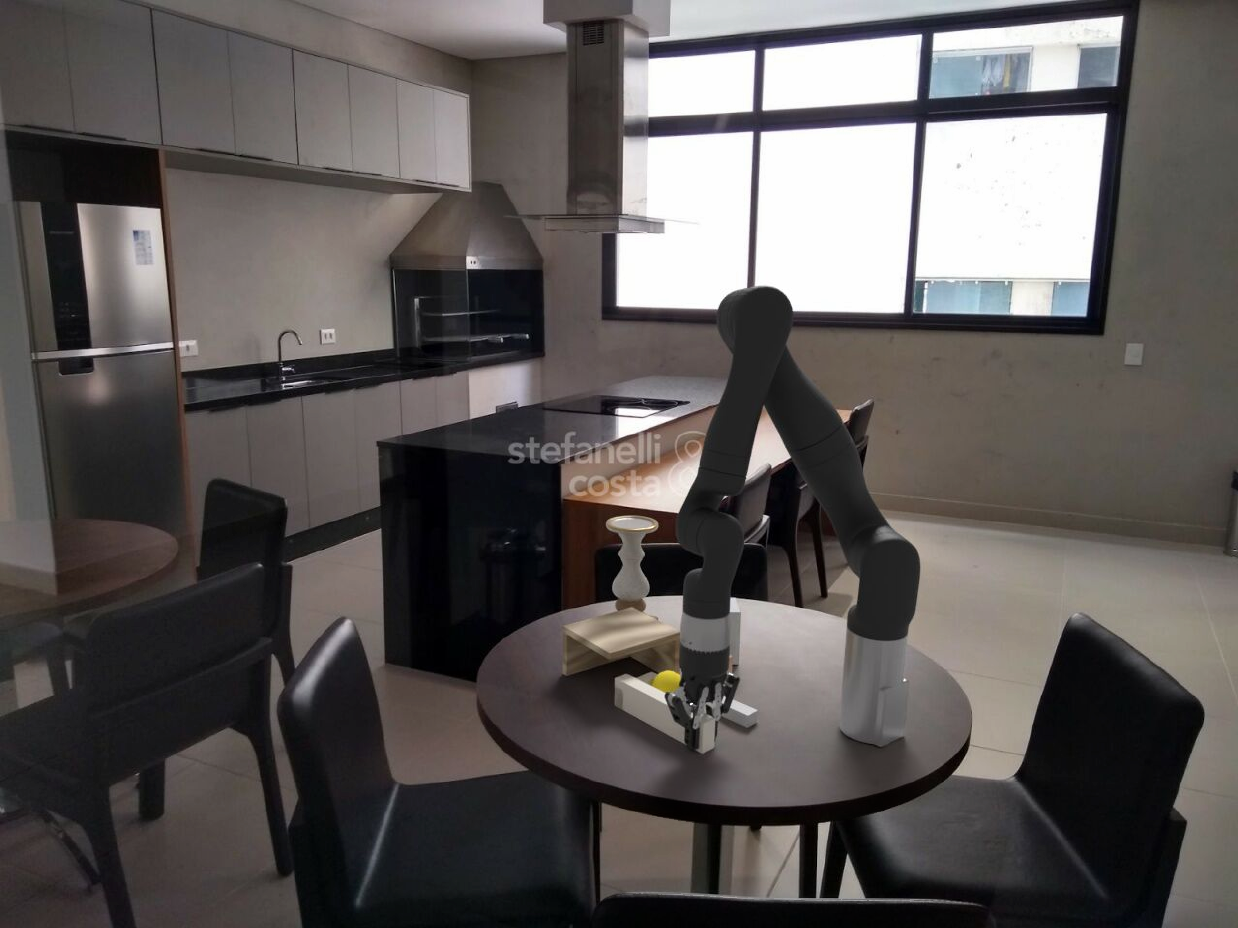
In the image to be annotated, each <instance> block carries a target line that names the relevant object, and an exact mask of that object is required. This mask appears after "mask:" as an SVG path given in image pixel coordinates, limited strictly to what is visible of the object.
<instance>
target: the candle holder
mask: <svg viewBox="0 0 1238 928" xmlns="http://www.w3.org/2000/svg"><path fill="white" fill-rule="evenodd" d="M605 526H606V528H607V530H609V531H610V532H613V533H617V534H618V536H619V538H621V540H622V546H621V548H620V550H619V551H618V553H617V554H618V556H619V557H620V560H621V562H622V566H621V569H620V571H619V572H618V574H617V576H616V577H615V578H614V580H613V582H612V593H613V594H614V595H615V596H616V597H617V598H618V599H617V600H616V601H615V603H614V606H615V607H614V608H615V610H616V611H620V610H624V609H628V608H631V607H632V608H634V609H636V610H638V611H640V612H642V613H644V614H646V615H648V616H650V617H652V618H654V619H656V620H658V621H659V617H658V616H657V615H652V614H647V613H646V612H644V611H645V610H646V608H647V603H646V601H645V600H644V599H645V597H647V595H648V594H649V592H650V584H649V580H648V578H647V577H646V576H645V574H644V573H643V571H642V568H641V562H642V560H643V558H644V557H645V554H646V553H645V552H644V550H643V548H642V546H641V544H642V540H643V538H644V537H645V536H646V534H650V533H653V532H655V531H657V530H658V528H659V522H658V521H657V520H656V519H654V518H651V517H647V516H641V515H620V516H615V517H611V518H609V519H608V520H607V521H606V522H605ZM616 611H614V612H616Z"/></svg>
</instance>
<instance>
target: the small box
mask: <svg viewBox="0 0 1238 928" xmlns="http://www.w3.org/2000/svg"><path fill="white" fill-rule="evenodd" d="M741 618H742V612H741V608H740V607H739V602H738V600H737V597H731V599H730V621H731V636H730V655H731V656H733V662H732V666H733V665H734V666H738V665H739V664H740V647H741V646H740V644H741V622H742V621H741V620H742V619H741Z"/></svg>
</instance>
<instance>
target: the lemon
mask: <svg viewBox="0 0 1238 928" xmlns="http://www.w3.org/2000/svg"><path fill="white" fill-rule="evenodd" d="M657 674H658V675H657V676H656V677H655V678H654V680H653V682H652V685H651V686H652V687H654V688H656V689H658V690H660V691H662V692H664V693H666V692H668V691H669V692H671V693H673V692H674V691H675V690H676V689H677V688H679V682H680V680H681V674H680V675H679V674H677V673H675V672H674V671H668V670H667V671H663V672H660V673H657Z"/></svg>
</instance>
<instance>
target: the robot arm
mask: <svg viewBox="0 0 1238 928" xmlns="http://www.w3.org/2000/svg"><path fill="white" fill-rule="evenodd" d="M793 324H794V308H793V305H792V303H791V301H790V299H789V297H788V296H787V295H786V294H785V292H783V291H782V290H781V289H779V288H777V287H775V286H772V285H755V286H751V287H750V286H749V287H744V288H740V289H737V290H733V291H732V292H729V293H728V294H726V296H725V297H724V298H723V299H722V300H721V301H720V302H719V304H718V308H717V311H716V327H717V330H718V334H719V336H720V338H721V339H722V341H723V342H724V344H725V345H726V347H727V349H728V350H729V351H730V353H731V354H732V361H731V367H730V371H729V374H728V377H727V378H728V379H727V382H726V385H725V387H724V391H723V393H722V394H721V398H720V401H719V402H718V404H717V406H716V408H715V411H714V412H713V416H712V417H711V420H710V423H709V425H708V428H707V430H706V434H705V438H704V441H703V446H702V449H701V455H700V459H699V463H698V464H699V465H698V470H697V474H696V476H695V479H694V481H693V483H692V485H691V486H690V487H689V490H688V493H687V494H686V496H685V498H684V501H683V503H682V504H681V506H680V508H679V511H678V513H677V515H676V520H675V537H676V541H677V543H678V544H679V546H680V547H682V549H684V550H686V551H688V552H689V553H692V554H695V555H698V556H699V557H702V558H703V565H702V568H695V569H692V570H690V571H688V573H686V575H685V577H684V578H683V587H682V589H683V591H682V592H683V593H682V611H681V618H680V625H679V628H680V629H679V631H680V649H679V666H680V674H681V675H680V677H681V680H680V682H679V688H677V689H676V690H675V691H674V692H673V693H671V692H669V691H668V692H666V694H665V700H666V702H667V705H668V707H669V709H670V712H671V714H672V717H673V719H674V721H675V722H676V723H678V724H679V725H681V726H682V727H684V728H685V733H684V742H685V744H686V745H685V744H684V745H685V746H687V747H688V749H689V748H690V749H691V750H693V751H696V749H698V748H699V729H700V728H699V723H700V717H701V714H703V713H706V714H708V715H710V716H712V717H714V718H715V737H714V743H716V741H717V739H716V738H717V736H718V726H719V721H720V719H721V717H722V716H721V715H722V714H723V713H724V714H727V713H728V712H729V709H730V706H731V704H732V701H733V700H734V698H735V695H736V693H737V690H738V686H739V684H740V682H741V678H740V677H739V676H738V675H736V674H734V673H733V672H732V673H730V672H728V669H729V657H730V636H731V621H730V599H731V598H732V595H731V593H732V590H731V589H732V585H733V581H734V579H735V576H736V574H737V570H738V566H739V564H740V561H741V559H742V555H743V551H744V547H745V532H744V529H743V526H742V524H741V523H740V521H739V520H738V519H737V518H736V517H734V516H733V515H731V514H727V513H725V512H722V511H719V507H720V506H721V504H722V502H723V500H724V499H725V497H735V496H738V495H740V494H741V493H742V492H743V490H744V488H745V484H746V481H747V476H748V472H749V466H750V462H751V457H752V452H753V447H754V445H755V444H754V443H755V439H756V435H757V431H758V427H759V424H760V419H761V415H762V412H763V409H765V410H766V412H767V414H768V417H769V418H770V421H771V423H772V424H773V426H774V428H775V430H776V431H777V433H778V435H779V437H780V439H781V441H782V443H783V445H784V447H785V449H786V451H787V453H788V455H789V457H790V459H791V461H792V462H793V464H794V465H795V467H796V468H797V471H798V473H799V474H800V475H801V478H802V479H803V481H804V482H805V484H806V485H807V487H808V488H809V490H810V491H811V493H812V495H813V496H814V497H815V498H816V501H818V503H819V504H820V506H821V507H822V509H823V510H824V512H825V513H826V515H827V517H828V519H829V521H830V523H831V525H832V528H833V530H834V533H835V535H836V538H837V540H838V542H839V546H840V547H841V550H842V553H843V555H844V558H845V560H846V563H847V564H848V567H849V569H850V570H851V571H852V573H853V574H854V575H855V576H856V577H857V578H858V579H859V580H858V588H857V598H856V599H857V600H856V604H854V605H852V606H851V607H850V608H849V609H848V611H847V615H846V617H847V618H846V629H845V630H846V632H845V633H846V634H845V645H844V646H845V647H844V659H843V669H842V670H843V672H842V684H841V697H840V711H839V713H840V714H839V729H840V731H841V732H842V733H843V734H844V735H845V736H847V737H848V738H851V739H853V740H855V741H856V742H857V741H858V742H862V743H866V744H871V745H875V746H877V747H880V748H882V747H884V746H887V745H889V744H891V743H893V742H894V741H897V740H899V739H901V738H903V737H904V736H905V733H906V723H907V711H908V701H909V700H908V699H909V688H910V681H909V679H907V678H905V671H906V670H905V668H906V659H907V649H908V648H907V647H908V636H909V635H908V634H909V627H910V624H911V623H912V620H913V619H914V616H915V614H916V610H917V603H918V602H917V600H918V593H919V587H920V580H921V579H920V577H921V559H920V554H919V552H918V550H917V548H916V547H915V546H914V544H913V543H912V542H910V541H909V540H908V539H907V538H906V537H904V536H903V535H902V534H901V533H900V532H899V533H898V532H897V531H896V530H895V529H894V528H893V527H892V526H891V524H890V523H889V521H887V519H886V518H885V516H884V515H883V514H882V512H881V511H880V509H879V508H878V506H877V504H876V503H875V501H874V499H873V498H872V496H871V494H870V491H869V489H868V486H867V484H866V480H865V476H864V470H863V466H862V462H861V458H860V453H859V452H858V449H857V445H856V444H855V442H854V440H853V437H852V435H851V434H850V431H849V429H848V427H847V426H846V424H845V423H844V420H843V418H842V416H841V415H840V413H839V412H838V410H837V408H836V407H835V406H834V405H833V403H832V402H831V401H830V399H829V398H828V397H827V396H826V395H825V394H824V393H823V392H822V390H820V388H819V387H818V386H817V385H816V383H814V382H813V381H812V380H811V379H810V378H809V377H808V376H807V374H805V372H804V371H803V370H802V369H801V368H800V366H799V365H798V363H797V362H796V360H795V359H794V357H793V355H792V354H791V352H790V349H789V347H788V345H787V344H788V343H787V342H788V340H789V337H790V334H791V331H792V329H793ZM724 696H725V697H726V699H725V701H724V704H723V703H722V700H723V697H724ZM683 697H684V698H683ZM692 713H693V717H692V718H691V714H692Z"/></svg>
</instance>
